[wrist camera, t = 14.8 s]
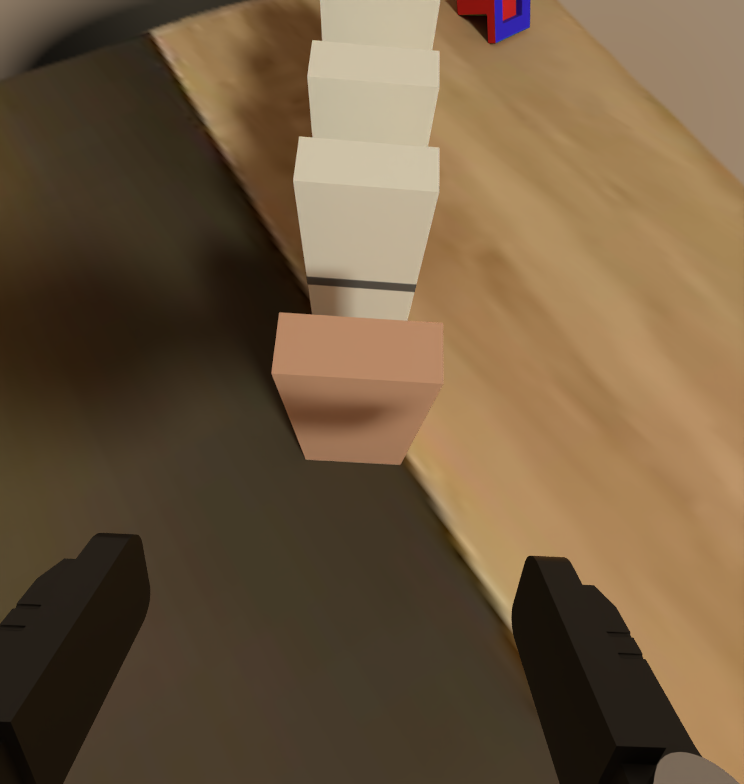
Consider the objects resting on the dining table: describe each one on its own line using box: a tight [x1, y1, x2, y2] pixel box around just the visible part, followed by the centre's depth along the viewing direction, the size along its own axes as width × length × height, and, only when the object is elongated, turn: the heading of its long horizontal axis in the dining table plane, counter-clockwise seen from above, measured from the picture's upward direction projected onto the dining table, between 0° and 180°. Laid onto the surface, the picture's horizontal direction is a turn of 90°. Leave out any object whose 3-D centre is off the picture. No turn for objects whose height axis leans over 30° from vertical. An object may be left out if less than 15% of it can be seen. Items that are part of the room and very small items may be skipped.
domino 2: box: [293, 136, 439, 321], centre depth 22 cm, size 5×2×12 cm, turn 87°
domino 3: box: [307, 40, 439, 147], centre depth 24 cm, size 5×2×12 cm, turn 87°
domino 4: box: [320, 0, 440, 50], centre depth 25 cm, size 5×2×12 cm, turn 87°
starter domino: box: [271, 312, 443, 465], centre depth 20 cm, size 5×2×12 cm, turn 87°
